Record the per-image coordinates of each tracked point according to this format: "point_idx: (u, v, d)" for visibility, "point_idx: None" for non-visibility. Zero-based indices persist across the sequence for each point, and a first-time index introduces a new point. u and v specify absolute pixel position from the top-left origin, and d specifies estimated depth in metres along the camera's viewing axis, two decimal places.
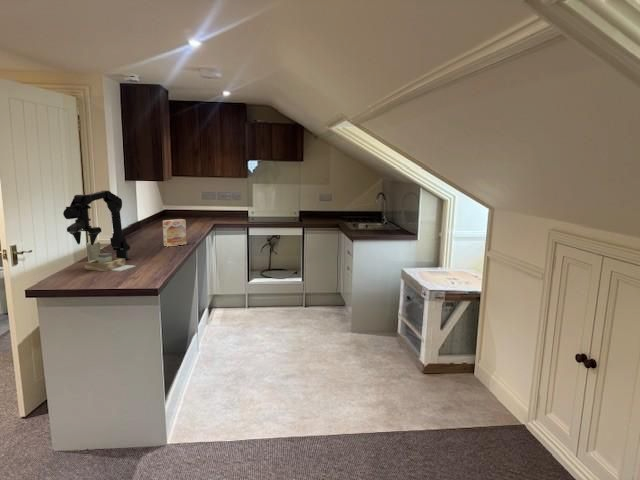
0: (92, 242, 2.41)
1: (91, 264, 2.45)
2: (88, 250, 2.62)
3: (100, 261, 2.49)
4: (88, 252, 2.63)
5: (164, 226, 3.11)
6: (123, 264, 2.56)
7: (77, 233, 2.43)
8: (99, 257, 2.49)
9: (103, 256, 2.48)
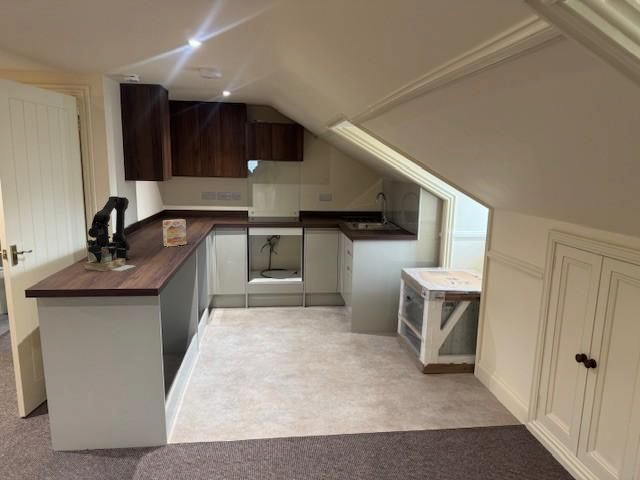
0: (98, 260, 2.46)
1: (91, 264, 2.45)
2: None
3: None
4: (88, 252, 2.63)
5: (164, 226, 3.11)
6: (123, 264, 2.56)
7: (111, 249, 2.55)
8: None
9: (103, 256, 2.48)
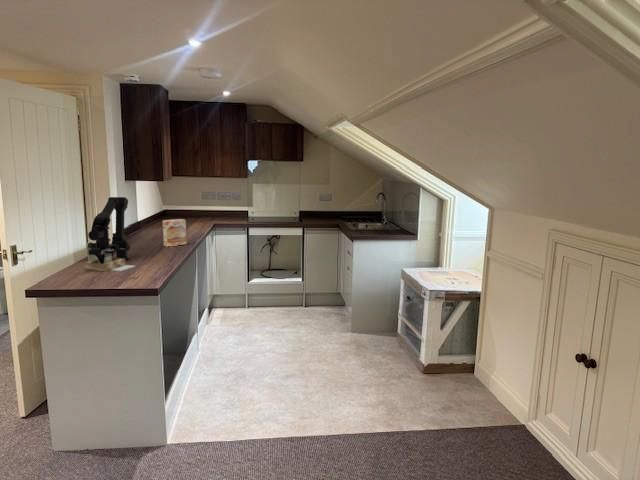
0: (100, 262, 2.48)
1: (91, 264, 2.45)
2: (88, 250, 2.62)
3: None
4: None
5: (164, 226, 3.11)
6: (123, 264, 2.56)
7: (108, 252, 2.53)
8: None
9: None
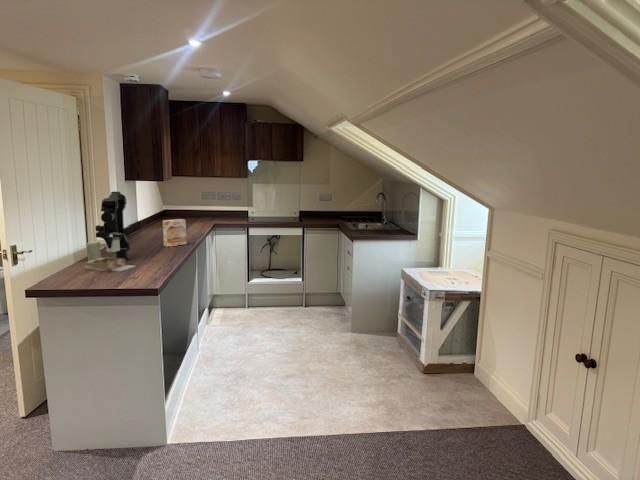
0: (108, 245, 2.45)
1: (91, 264, 2.45)
2: (88, 250, 2.62)
3: None
4: (88, 252, 2.63)
5: (164, 226, 3.11)
6: (123, 264, 2.56)
7: (116, 236, 2.50)
8: None
9: None
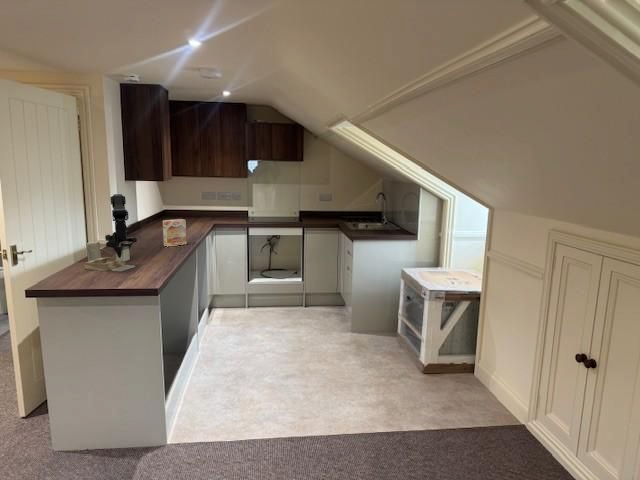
0: (118, 255, 2.44)
1: (91, 264, 2.45)
2: (88, 250, 2.62)
3: None
4: (88, 252, 2.63)
5: (164, 226, 3.11)
6: (123, 264, 2.56)
7: (126, 245, 2.49)
8: None
9: None
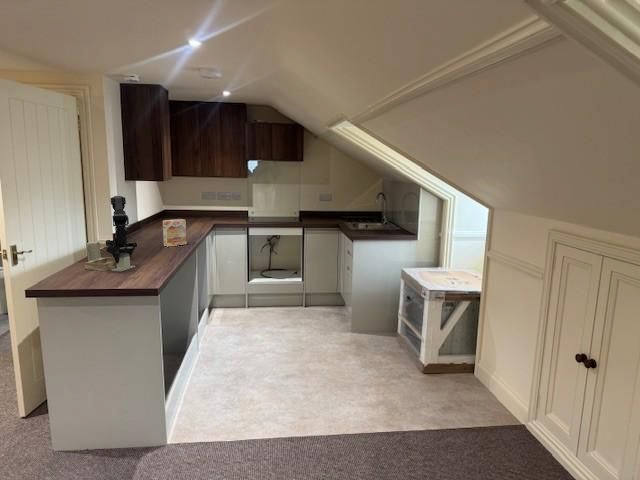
0: (116, 260, 2.43)
1: (91, 264, 2.45)
2: (88, 250, 2.62)
3: None
4: (88, 252, 2.63)
5: (164, 226, 3.11)
6: None
7: (128, 249, 2.52)
8: None
9: (121, 256, 2.45)
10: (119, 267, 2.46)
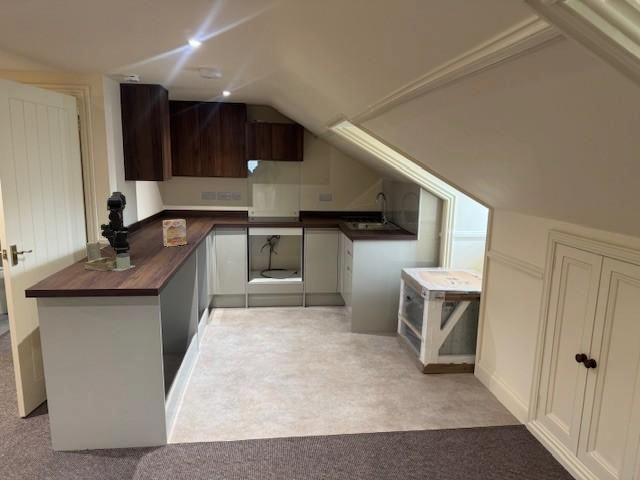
0: (111, 244, 2.46)
1: (91, 264, 2.45)
2: (88, 250, 2.62)
3: (118, 261, 2.46)
4: (88, 252, 2.63)
5: (164, 226, 3.11)
6: None
7: (123, 234, 2.55)
8: (117, 257, 2.46)
9: (121, 256, 2.45)
10: (119, 267, 2.46)
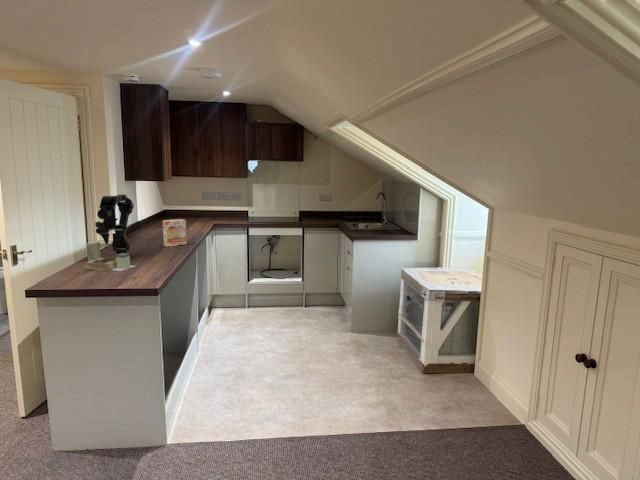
0: (105, 241, 2.52)
1: (91, 264, 2.45)
2: (88, 250, 2.62)
3: (118, 261, 2.46)
4: (88, 252, 2.63)
5: (164, 226, 3.11)
6: None
7: (118, 231, 2.61)
8: (117, 257, 2.46)
9: (121, 256, 2.45)
10: (119, 267, 2.46)
